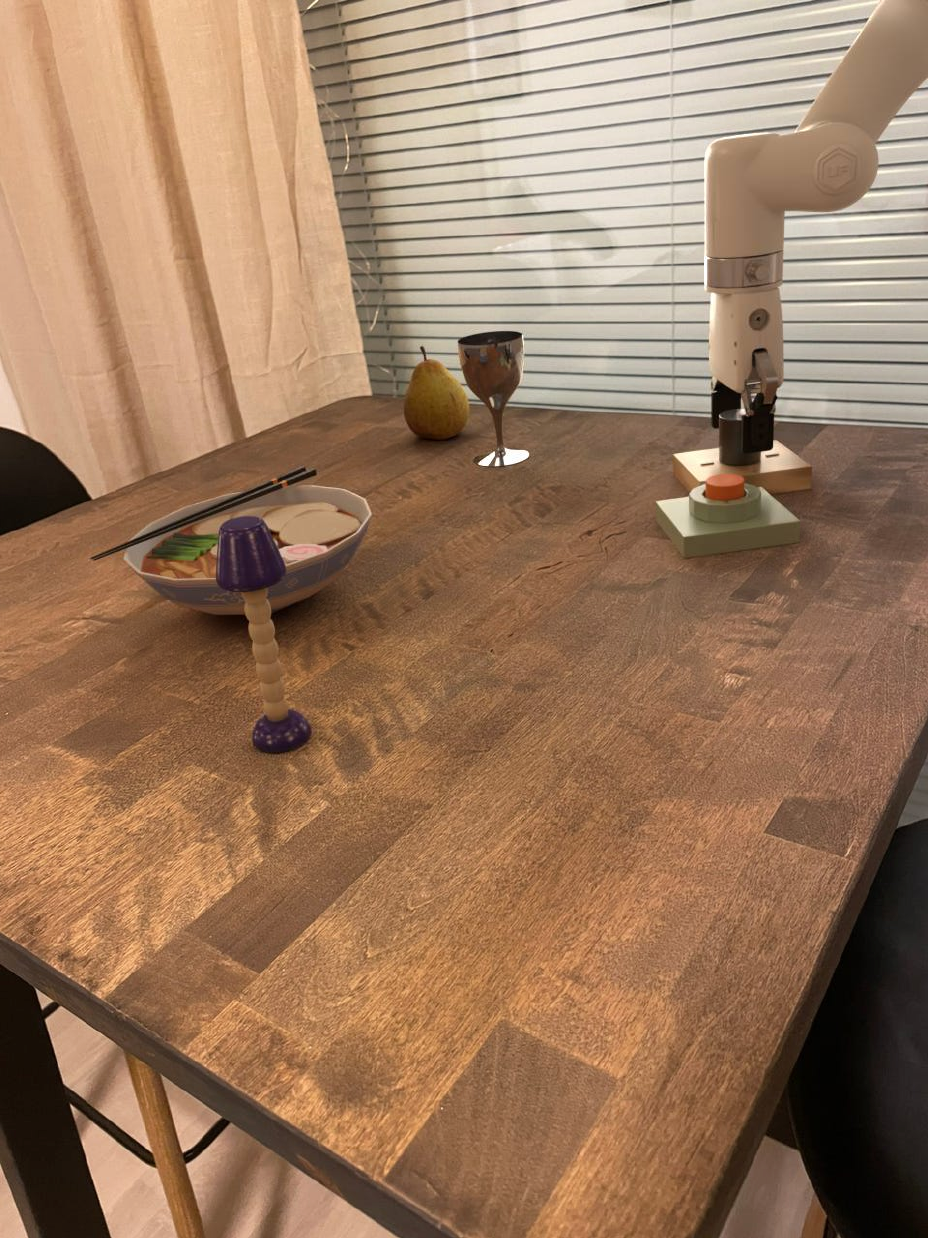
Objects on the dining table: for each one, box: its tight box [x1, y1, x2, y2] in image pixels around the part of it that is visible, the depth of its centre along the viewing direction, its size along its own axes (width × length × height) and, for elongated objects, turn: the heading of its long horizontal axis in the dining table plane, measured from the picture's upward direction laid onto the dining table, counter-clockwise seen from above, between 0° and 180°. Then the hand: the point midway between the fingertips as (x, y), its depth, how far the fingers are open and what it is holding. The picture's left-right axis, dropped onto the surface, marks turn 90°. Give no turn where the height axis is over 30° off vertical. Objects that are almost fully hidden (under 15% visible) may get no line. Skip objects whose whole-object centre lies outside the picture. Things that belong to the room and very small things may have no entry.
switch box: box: [654, 483, 801, 559], centre depth 94 cm, size 11×10×4 cm
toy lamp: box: [216, 516, 312, 754], centre depth 67 cm, size 5×5×17 cm
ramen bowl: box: [89, 465, 373, 616], centre depth 91 cm, size 25×23×8 cm
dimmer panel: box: [672, 439, 813, 495], centre depth 106 cm, size 12×10×3 cm
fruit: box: [403, 345, 470, 441], centre depth 133 cm, size 9×9×12 cm
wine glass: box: [457, 330, 530, 468], centre depth 120 cm, size 8×8×15 cm
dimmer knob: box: [718, 408, 761, 466], centre depth 104 cm, size 4×4×5 cm
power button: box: [706, 474, 745, 501], centre depth 93 cm, size 4×4×2 cm
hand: (740, 438), depth 104 cm, fingers open, 9 cm apart
